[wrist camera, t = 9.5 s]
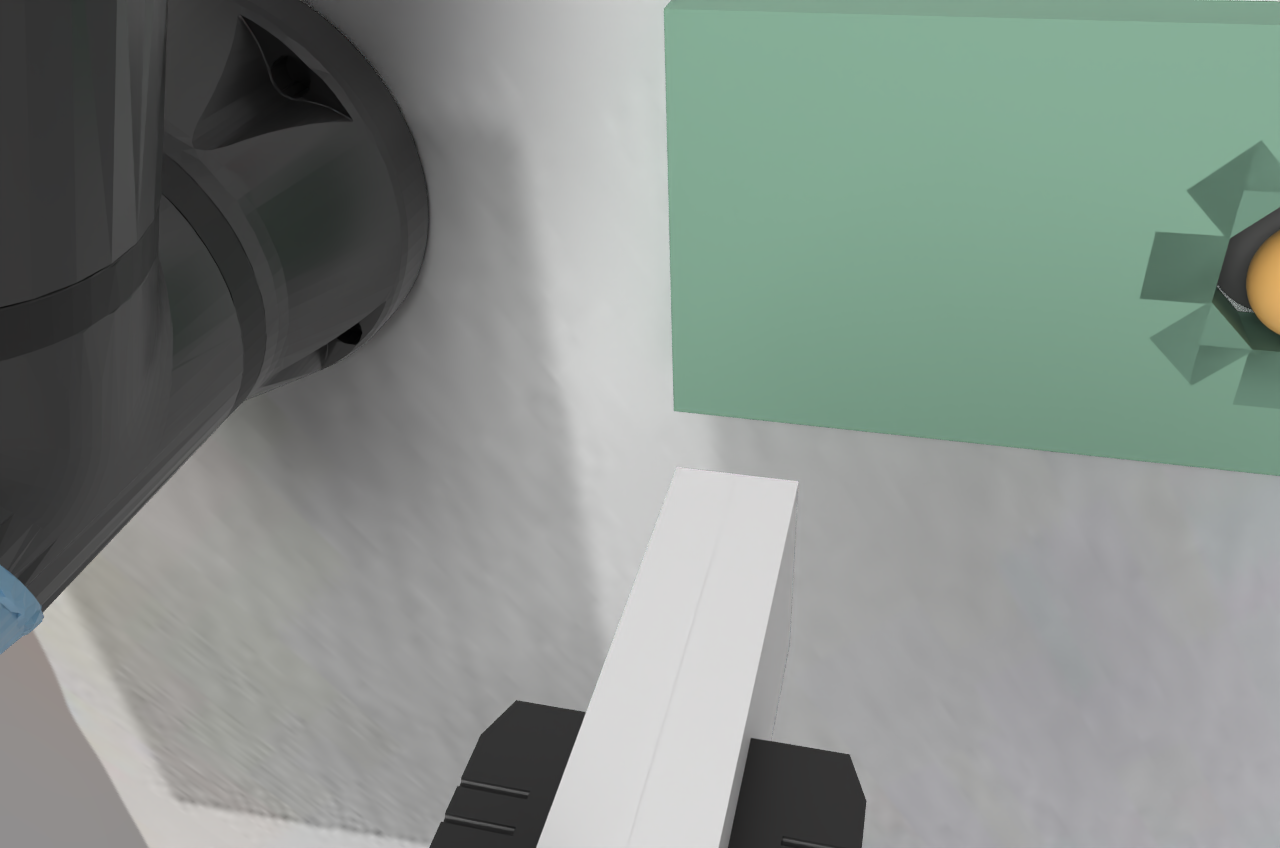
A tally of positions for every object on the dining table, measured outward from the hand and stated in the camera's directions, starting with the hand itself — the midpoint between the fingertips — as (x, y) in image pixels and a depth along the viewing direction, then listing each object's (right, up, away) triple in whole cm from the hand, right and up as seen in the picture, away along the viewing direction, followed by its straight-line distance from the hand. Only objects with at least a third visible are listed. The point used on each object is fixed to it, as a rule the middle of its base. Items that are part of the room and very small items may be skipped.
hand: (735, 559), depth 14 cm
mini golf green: (+12, +8, +21) cm, 26 cm away
